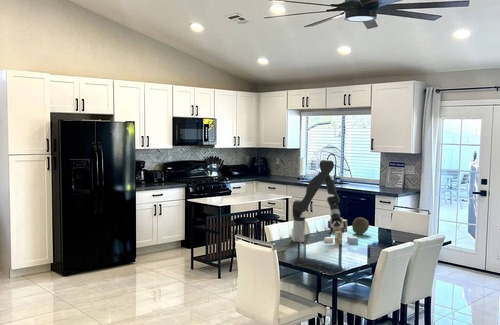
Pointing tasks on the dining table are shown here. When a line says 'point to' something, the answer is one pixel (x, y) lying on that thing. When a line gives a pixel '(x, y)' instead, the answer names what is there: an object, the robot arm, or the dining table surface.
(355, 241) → the blue base block
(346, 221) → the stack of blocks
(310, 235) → the dining table surface
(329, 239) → the cream block
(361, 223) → the cantaloupe
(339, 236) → the oak block
